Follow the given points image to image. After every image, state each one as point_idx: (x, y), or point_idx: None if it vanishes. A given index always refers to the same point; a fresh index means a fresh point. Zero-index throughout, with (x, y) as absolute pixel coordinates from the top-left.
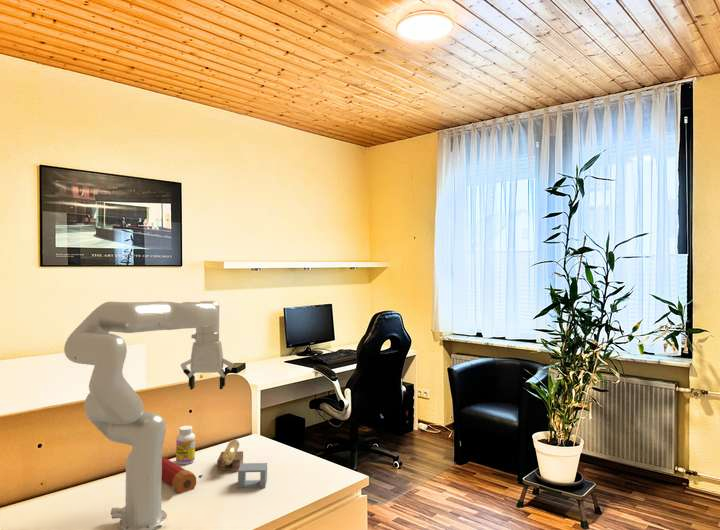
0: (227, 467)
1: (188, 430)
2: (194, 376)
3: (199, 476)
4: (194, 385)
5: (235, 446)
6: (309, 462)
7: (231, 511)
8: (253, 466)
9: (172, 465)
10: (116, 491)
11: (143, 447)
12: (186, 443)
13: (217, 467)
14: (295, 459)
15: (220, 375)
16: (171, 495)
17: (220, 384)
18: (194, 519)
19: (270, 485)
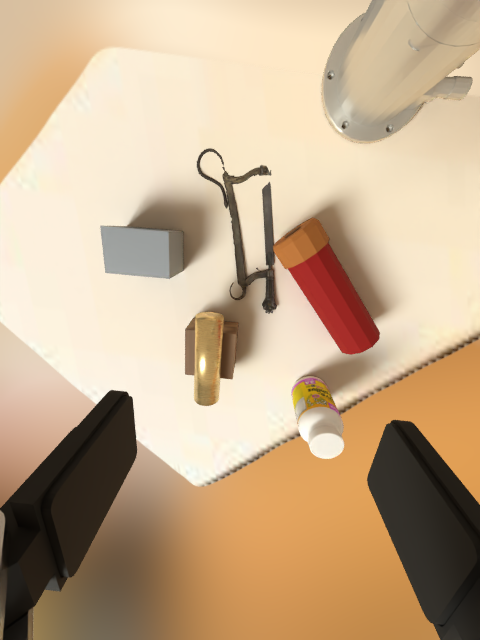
0: None
1: (318, 432)
2: (436, 620)
3: (271, 304)
4: (375, 494)
5: (196, 371)
6: (63, 352)
7: (181, 124)
8: (135, 254)
9: (337, 300)
10: (441, 267)
11: None
12: (315, 403)
13: (236, 328)
14: (93, 369)
15: (2, 555)
16: None
17: (94, 422)
18: (258, 89)
19: None
